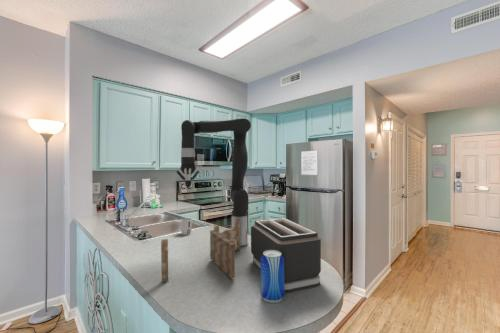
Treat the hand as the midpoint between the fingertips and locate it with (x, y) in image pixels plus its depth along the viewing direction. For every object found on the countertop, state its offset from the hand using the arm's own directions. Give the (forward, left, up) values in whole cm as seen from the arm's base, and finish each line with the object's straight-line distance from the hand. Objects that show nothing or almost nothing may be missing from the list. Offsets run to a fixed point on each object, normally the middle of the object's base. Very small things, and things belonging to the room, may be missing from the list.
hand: (188, 187), depth 133 cm
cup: (+6, -30, -35) cm, 47 cm away
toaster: (-46, +32, -35) cm, 66 cm away
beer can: (-37, +53, -35) cm, 74 cm away
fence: (-11, +21, -35) cm, 42 cm away
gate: (-19, +28, -34) cm, 48 cm away
